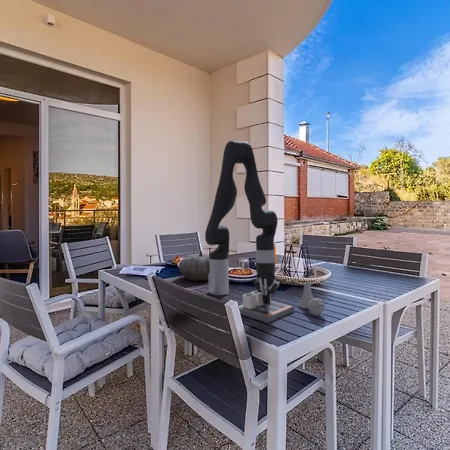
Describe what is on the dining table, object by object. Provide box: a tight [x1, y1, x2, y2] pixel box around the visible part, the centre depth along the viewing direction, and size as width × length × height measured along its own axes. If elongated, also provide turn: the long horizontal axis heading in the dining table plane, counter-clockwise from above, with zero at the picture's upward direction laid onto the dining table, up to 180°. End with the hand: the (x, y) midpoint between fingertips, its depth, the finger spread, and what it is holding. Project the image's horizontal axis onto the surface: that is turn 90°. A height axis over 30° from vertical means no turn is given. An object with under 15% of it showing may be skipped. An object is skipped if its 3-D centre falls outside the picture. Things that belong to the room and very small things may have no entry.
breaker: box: [242, 292, 256, 309], centre depth 129 cm, size 4×3×6 cm
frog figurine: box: [308, 297, 325, 317], centre depth 124 cm, size 6×7×7 cm
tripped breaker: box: [250, 289, 264, 306], centre depth 132 cm, size 4×3×6 cm
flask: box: [298, 282, 314, 310], centre depth 135 cm, size 7×7×10 cm
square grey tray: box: [238, 300, 295, 323], centre depth 130 cm, size 17×17×2 cm
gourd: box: [178, 250, 210, 282], centre depth 189 cm, size 25×25×17 cm
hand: (266, 303), depth 129 cm, fingers closed
